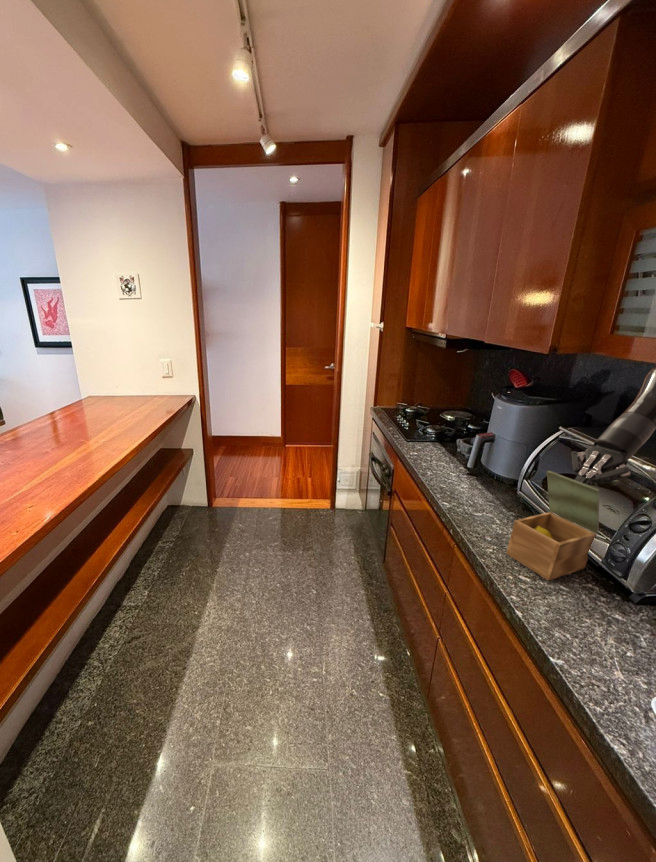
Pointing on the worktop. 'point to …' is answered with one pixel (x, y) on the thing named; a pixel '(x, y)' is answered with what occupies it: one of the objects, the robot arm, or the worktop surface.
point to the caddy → (550, 545)
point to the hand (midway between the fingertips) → (574, 490)
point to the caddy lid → (573, 501)
